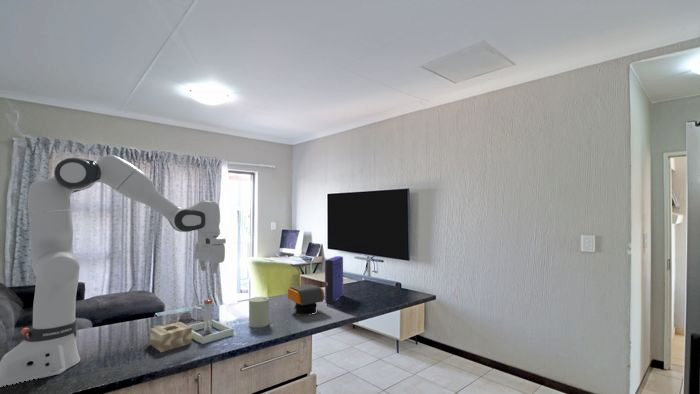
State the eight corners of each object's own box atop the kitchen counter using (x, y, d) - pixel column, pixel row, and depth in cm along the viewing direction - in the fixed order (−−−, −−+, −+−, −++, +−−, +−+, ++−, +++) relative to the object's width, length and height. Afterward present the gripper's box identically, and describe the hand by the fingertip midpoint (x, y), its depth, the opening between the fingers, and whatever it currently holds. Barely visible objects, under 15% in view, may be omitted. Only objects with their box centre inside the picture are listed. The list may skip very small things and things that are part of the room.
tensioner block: (160, 354, 124) (161, 335, 124) (150, 347, 131) (150, 328, 132) (191, 345, 132) (191, 327, 132) (179, 338, 140) (180, 321, 140)
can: (266, 327, 152) (266, 300, 153) (246, 327, 152) (246, 300, 153) (271, 321, 161) (271, 295, 162) (251, 321, 161) (252, 295, 162)
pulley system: (152, 326, 159) (153, 334, 146) (152, 315, 159) (154, 322, 146) (214, 318, 173) (220, 324, 160) (214, 308, 173) (220, 314, 161)
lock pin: (205, 336, 140) (206, 301, 141) (202, 334, 142) (202, 300, 143) (213, 334, 142) (213, 300, 143) (209, 332, 144) (210, 299, 145)
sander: (303, 302, 194) (303, 279, 195) (325, 312, 173) (325, 287, 174) (279, 306, 186) (279, 283, 186) (299, 318, 165) (299, 291, 166)
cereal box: (336, 295, 210) (335, 256, 211) (343, 295, 209) (342, 256, 210) (325, 302, 194) (324, 260, 195) (332, 302, 192) (332, 260, 193)
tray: (202, 346, 131) (202, 337, 132) (183, 335, 143) (183, 327, 144) (233, 336, 141) (233, 328, 141) (212, 327, 153) (212, 319, 153)
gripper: (190, 238, 148) (190, 270, 148) (213, 240, 135) (212, 275, 134) (204, 237, 153) (204, 268, 153) (227, 239, 140) (227, 273, 139)
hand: (208, 271), depth 143 cm, fingers open, 8 cm apart
